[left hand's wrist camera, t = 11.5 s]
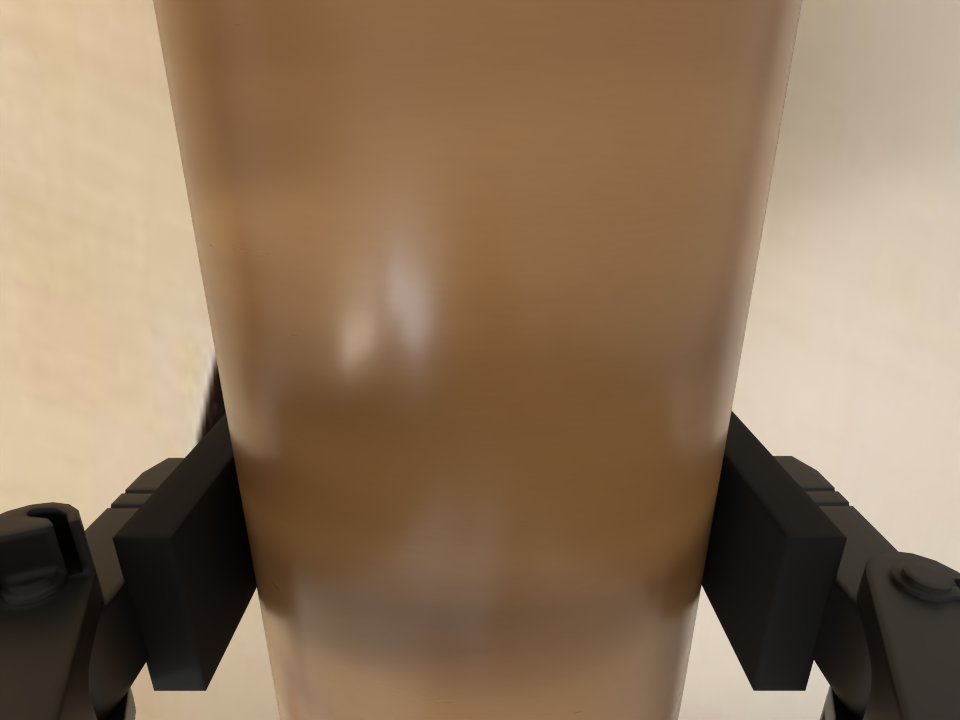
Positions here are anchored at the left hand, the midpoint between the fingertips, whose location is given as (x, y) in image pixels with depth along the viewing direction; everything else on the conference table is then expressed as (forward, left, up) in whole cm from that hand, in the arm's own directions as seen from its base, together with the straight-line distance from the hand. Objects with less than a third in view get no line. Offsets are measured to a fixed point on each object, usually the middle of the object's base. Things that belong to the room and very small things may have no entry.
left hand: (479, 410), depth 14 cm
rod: (+8, -5, -1) cm, 10 cm away
